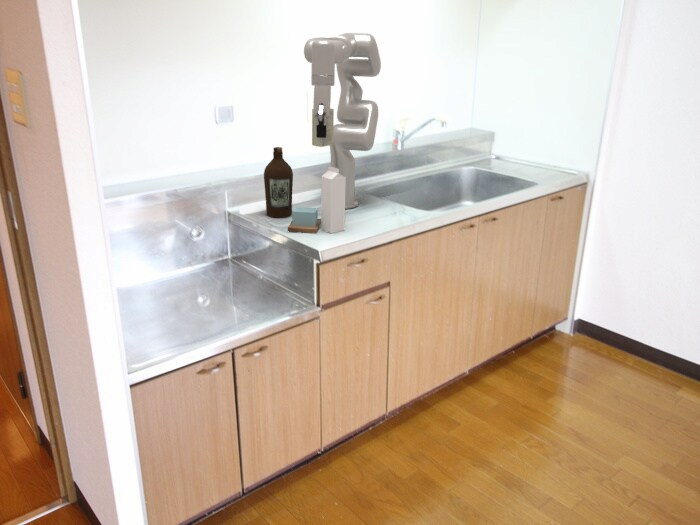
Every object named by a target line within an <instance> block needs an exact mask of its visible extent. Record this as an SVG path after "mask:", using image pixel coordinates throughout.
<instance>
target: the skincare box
mask: <svg viewBox="0 0 700 525" xmlns="http://www.w3.org/2000/svg"><path fill="white" fill-rule="evenodd" d="M323 109H324V108H323ZM311 110H312V113H311V118H312V119H311V120H312V121H311V122H312V123H311V127H312V129H311V131H312V132H311V133H312V135H311V146H314V147H320V148H322V147H327V146H328V147H330V145H333V126H334V120H335V119H334V115H335V114H334V113H335V112H334V110H335V109H334V108H331V107H330V109H329V115H328V116H327V117H326V138H317V136H316V135H317V115H318V113H317V115H315V116H316V117H314V116H313V108H312V109H311ZM323 116H325V115H323Z"/></svg>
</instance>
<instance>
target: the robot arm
mask: <svg viewBox="0 0 700 525" xmlns="http://www.w3.org/2000/svg"><path fill="white" fill-rule="evenodd" d="M377 44H378V43H377V41H376V39H375V37H374V36H373V35H372V34H371V33H364V32H363V33H355V32H350V33H348V32H346V33H342V34H338V35H330V36H321V37H313V38H309V39H308V40H307V41H306V42H305V44H304V47H303V56H304V58H305V60H306V61H307V63H310V64H311V77H310V78H311V86H314V87H313V106H312V107H313V108H312V109H313V116H314V117H316V116H315V115H317V113H318V115H317V135H316V136H317V138H326V117H327V116H328V115H329V109H330V108H331V99H332V98H331V94H332V87H334V86H335V80H336V79H335V77H336V76H335V71H336V72H337V78H338V82H339V85H340V95H339V100H338V104H337V111H336V118H337V121H338V122H339V123H338V124H333V145H330V146H329V149H330V150H329V151H330V166H331V167H334V168H337V169H339V174H341V175H342V176H344V177H346V184H345V210H347V209H354V208H356V207H358V206H359V202H358V201H357V200H356V199H355V187H356V186H355V183H356V181H355V180H356V179H355V178H356V160H355V158H354V155H353V154H352V152H351V151H357V152H358V151H359V152H360V151H361V152H368V151H370V150H372V149H373V146H374V143H375V137H376V132H377V126H378V121H379V106H378V104H377V102H375V101H373V100H369V99H363V94H364V93H363V92H364V90H363V89H362V86H361V85H360V83H359V81H357V79H356V78H355V77H366V78H367V77H368V78H374V77H377V76H378V75H379V74H380V72H381V69H382V68H381V67H382V63H381V57H380V52H379V47H378V45H377ZM335 68H336V69H335ZM323 108H324V109H323ZM323 115H325V116H323Z"/></svg>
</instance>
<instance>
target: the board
mask: <svg viewBox="0 0 700 525" xmlns="http://www.w3.org/2000/svg"><path fill="white" fill-rule="evenodd" d="M320 228H321V218H318V222H317V224H316V226H315V227H314V226H294V225H292V220H291V221H290V223H289V225H288V226H287V232H288V231H289V232H288V233H297V232H301V233H300V234H317V233H318V231H319V229H320Z"/></svg>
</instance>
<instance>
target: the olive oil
mask: <svg viewBox="0 0 700 525" xmlns="http://www.w3.org/2000/svg"><path fill="white" fill-rule="evenodd" d="M272 155H273V156H272V157H273V158H272V159H271V160H270V161H269V163H268V164H267V165H266V166H265V168H264V171H263V181H264V182H263V184H264V193H265V209H266V212H265V213H266V216H267V217H269V218H275V219H282V218H284V219H285V218H289V217H292V211H293V188H294V187H293V182H294V172H293V169H292V167H291V165H289V164H288V162H287V161H286V160H285V159H284V157H283V156H284V155H283V147H281V146H275V147H273V154H272Z"/></svg>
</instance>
